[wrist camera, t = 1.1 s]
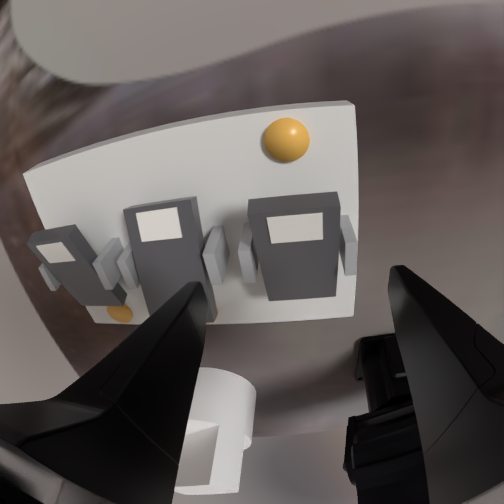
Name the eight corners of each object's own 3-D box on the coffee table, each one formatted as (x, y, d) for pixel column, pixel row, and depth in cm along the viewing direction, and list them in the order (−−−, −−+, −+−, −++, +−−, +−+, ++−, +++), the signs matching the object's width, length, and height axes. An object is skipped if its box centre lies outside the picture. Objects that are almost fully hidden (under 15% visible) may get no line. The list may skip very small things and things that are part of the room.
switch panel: (349, 297, 23) (359, 346, 19) (104, 307, 26) (82, 346, 22) (346, 100, 15) (369, 114, 11) (39, 163, 18) (-3, 191, 14)
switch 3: (334, 282, 19) (336, 297, 18) (268, 287, 19) (268, 302, 19) (337, 191, 13) (341, 207, 13) (248, 199, 14) (247, 215, 13)
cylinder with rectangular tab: (205, 356, 28) (179, 474, 18) (273, 393, 31) (266, 497, 21) (161, 384, 33) (134, 477, 23) (223, 414, 35) (208, 501, 26)
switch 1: (127, 294, 21) (123, 306, 20) (85, 294, 22) (81, 306, 21) (75, 224, 16) (67, 237, 15) (33, 232, 16) (26, 244, 16)
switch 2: (217, 313, 18) (213, 322, 17) (157, 314, 19) (151, 323, 18) (196, 195, 16) (190, 199, 15) (131, 205, 17) (122, 209, 16)
